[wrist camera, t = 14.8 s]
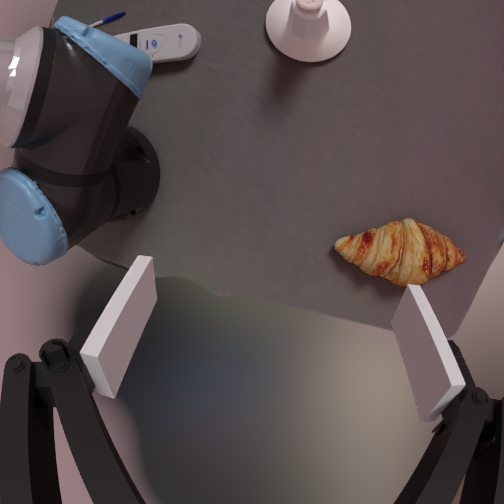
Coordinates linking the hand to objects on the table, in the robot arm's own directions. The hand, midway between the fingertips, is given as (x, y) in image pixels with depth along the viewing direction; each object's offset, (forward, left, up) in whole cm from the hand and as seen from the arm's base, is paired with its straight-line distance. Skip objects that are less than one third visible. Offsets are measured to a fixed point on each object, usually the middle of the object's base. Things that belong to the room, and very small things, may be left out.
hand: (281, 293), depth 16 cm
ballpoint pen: (-36, +17, -31) cm, 50 cm away
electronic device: (-25, +13, -31) cm, 41 cm away
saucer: (-4, +20, -30) cm, 37 cm away
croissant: (+18, -6, -31) cm, 36 cm away
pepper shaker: (-4, +20, -30) cm, 36 cm away
